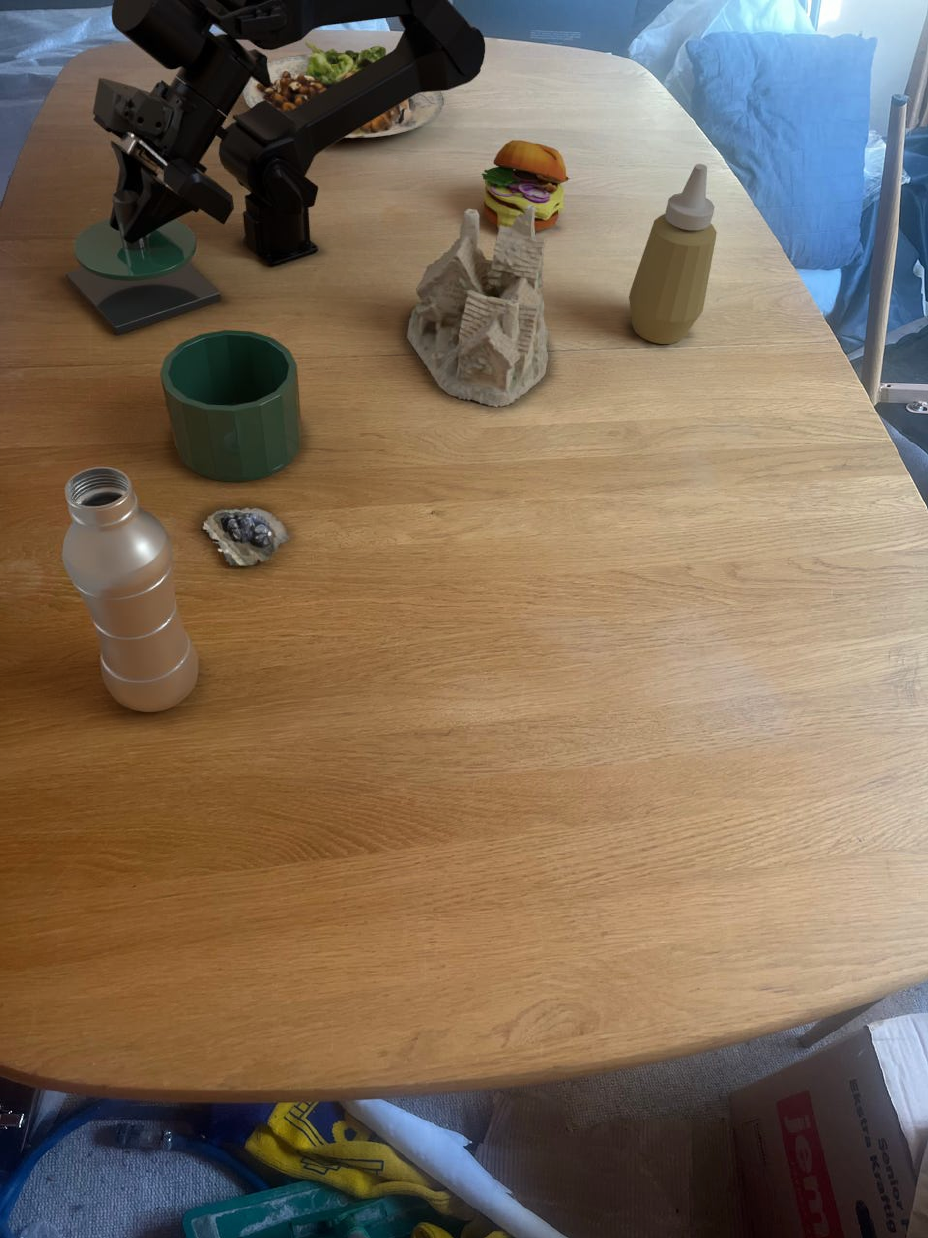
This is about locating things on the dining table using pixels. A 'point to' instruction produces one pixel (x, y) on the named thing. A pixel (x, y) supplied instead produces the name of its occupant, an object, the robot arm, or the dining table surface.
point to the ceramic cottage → (484, 314)
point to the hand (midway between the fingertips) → (120, 234)
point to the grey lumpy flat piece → (246, 534)
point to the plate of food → (325, 69)
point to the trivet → (143, 296)
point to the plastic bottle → (128, 591)
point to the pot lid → (133, 246)
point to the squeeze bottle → (675, 265)
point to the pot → (233, 404)
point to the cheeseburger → (525, 184)
